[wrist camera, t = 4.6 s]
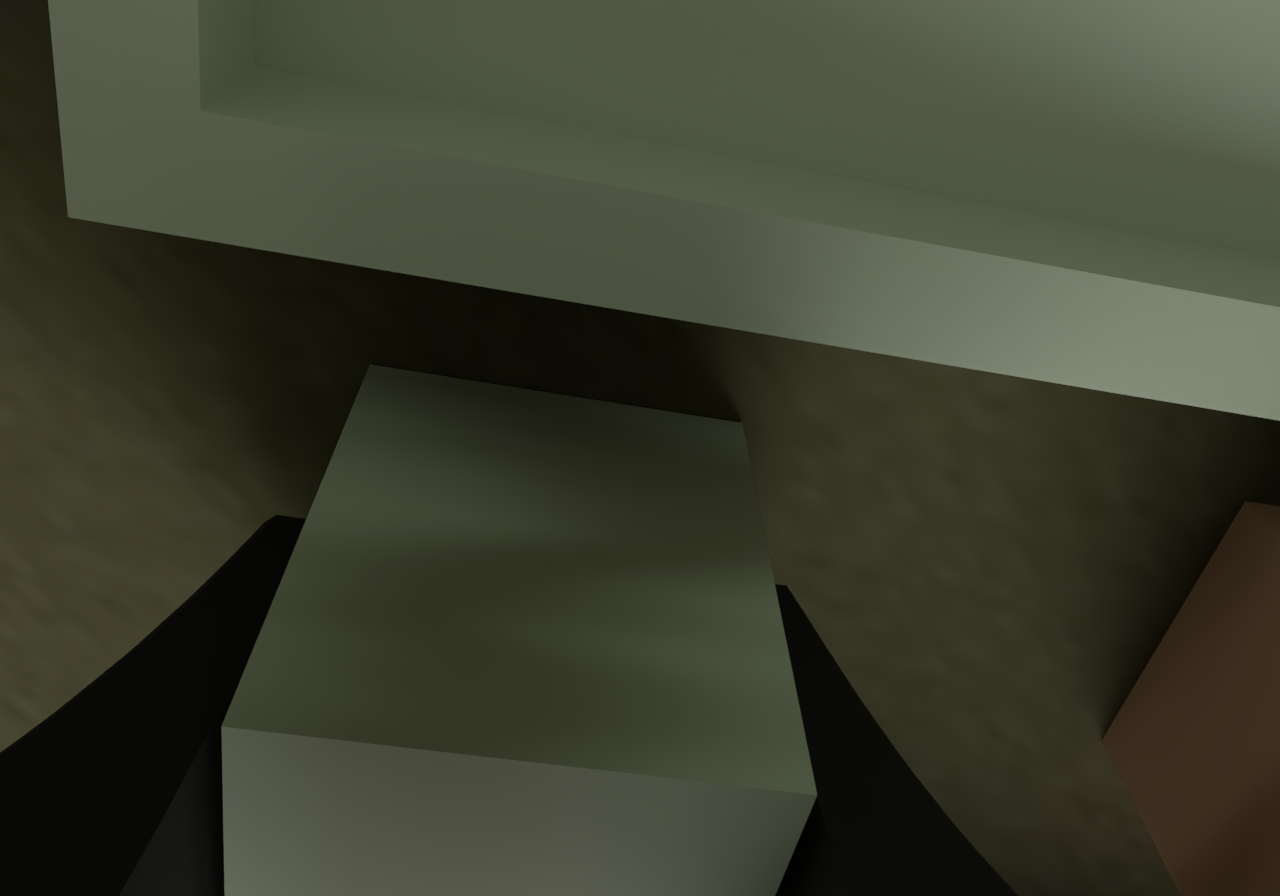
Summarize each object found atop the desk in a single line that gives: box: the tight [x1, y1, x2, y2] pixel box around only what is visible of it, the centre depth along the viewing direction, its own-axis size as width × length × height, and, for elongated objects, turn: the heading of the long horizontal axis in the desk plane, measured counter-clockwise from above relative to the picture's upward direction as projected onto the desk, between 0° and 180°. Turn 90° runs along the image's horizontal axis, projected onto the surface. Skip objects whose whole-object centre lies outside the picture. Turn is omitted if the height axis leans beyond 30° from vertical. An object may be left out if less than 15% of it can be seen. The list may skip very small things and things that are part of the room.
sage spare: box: [221, 364, 817, 896], centre depth 10 cm, size 4×4×5 cm
